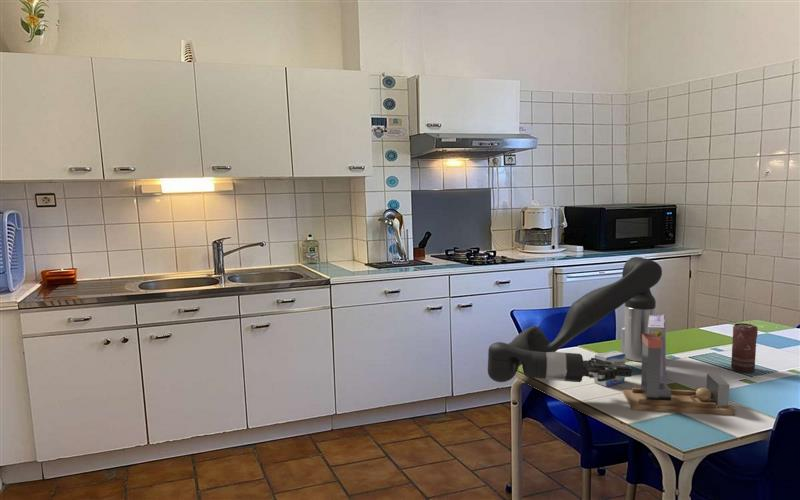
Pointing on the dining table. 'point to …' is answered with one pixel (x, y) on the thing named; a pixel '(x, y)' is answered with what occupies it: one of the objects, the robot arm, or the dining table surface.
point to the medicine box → (615, 359)
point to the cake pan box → (658, 328)
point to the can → (744, 347)
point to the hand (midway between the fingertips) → (631, 371)
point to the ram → (652, 369)
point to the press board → (675, 403)
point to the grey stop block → (718, 390)
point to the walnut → (703, 394)
